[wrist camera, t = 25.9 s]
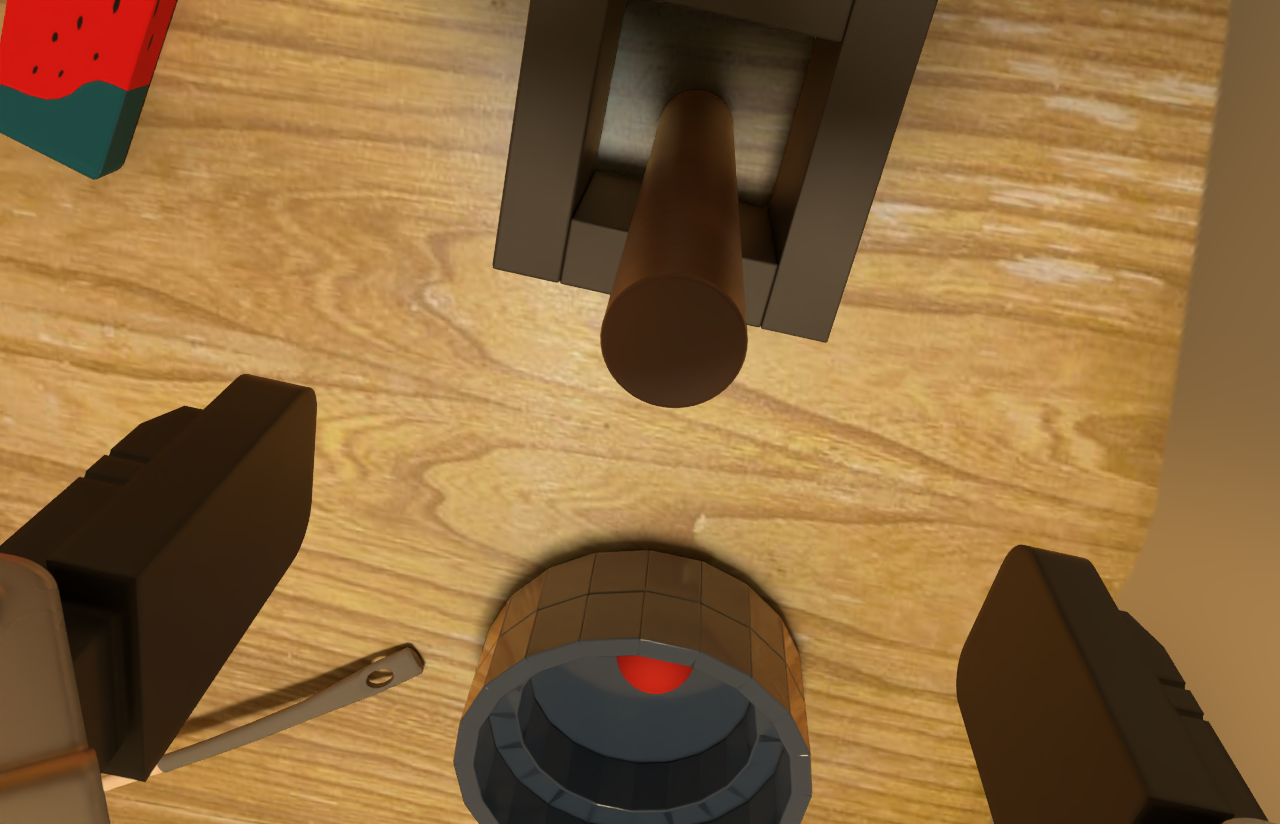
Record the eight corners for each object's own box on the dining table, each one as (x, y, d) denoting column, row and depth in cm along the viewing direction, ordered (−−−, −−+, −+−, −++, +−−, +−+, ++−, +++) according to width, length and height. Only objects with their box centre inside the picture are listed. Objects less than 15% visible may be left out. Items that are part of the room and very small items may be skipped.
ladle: (-107, 782, 48) (-176, 859, 44) (399, 557, 46) (380, 614, 41) (-26, 865, 50) (-84, 946, 46) (461, 655, 48) (450, 719, 43)
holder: (904, -34, 29) (946, -23, 24) (810, 275, 34) (827, 343, 28) (578, -111, 29) (546, -117, 24) (527, 212, 33) (491, 269, 28)
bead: (684, 683, 41) (703, 612, 40) (685, 716, 38) (706, 638, 37) (610, 665, 41) (628, 593, 40) (605, 695, 38) (624, 618, 37)
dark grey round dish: (840, 580, 40) (858, 684, 34) (753, 808, 46) (758, 926, 40) (511, 510, 39) (478, 604, 34) (469, 749, 45) (436, 860, 40)
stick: (741, 98, 31) (764, 291, 15) (722, 171, 32) (727, 423, 16) (668, 82, 31) (615, 259, 15) (652, 156, 32) (588, 392, 16)
